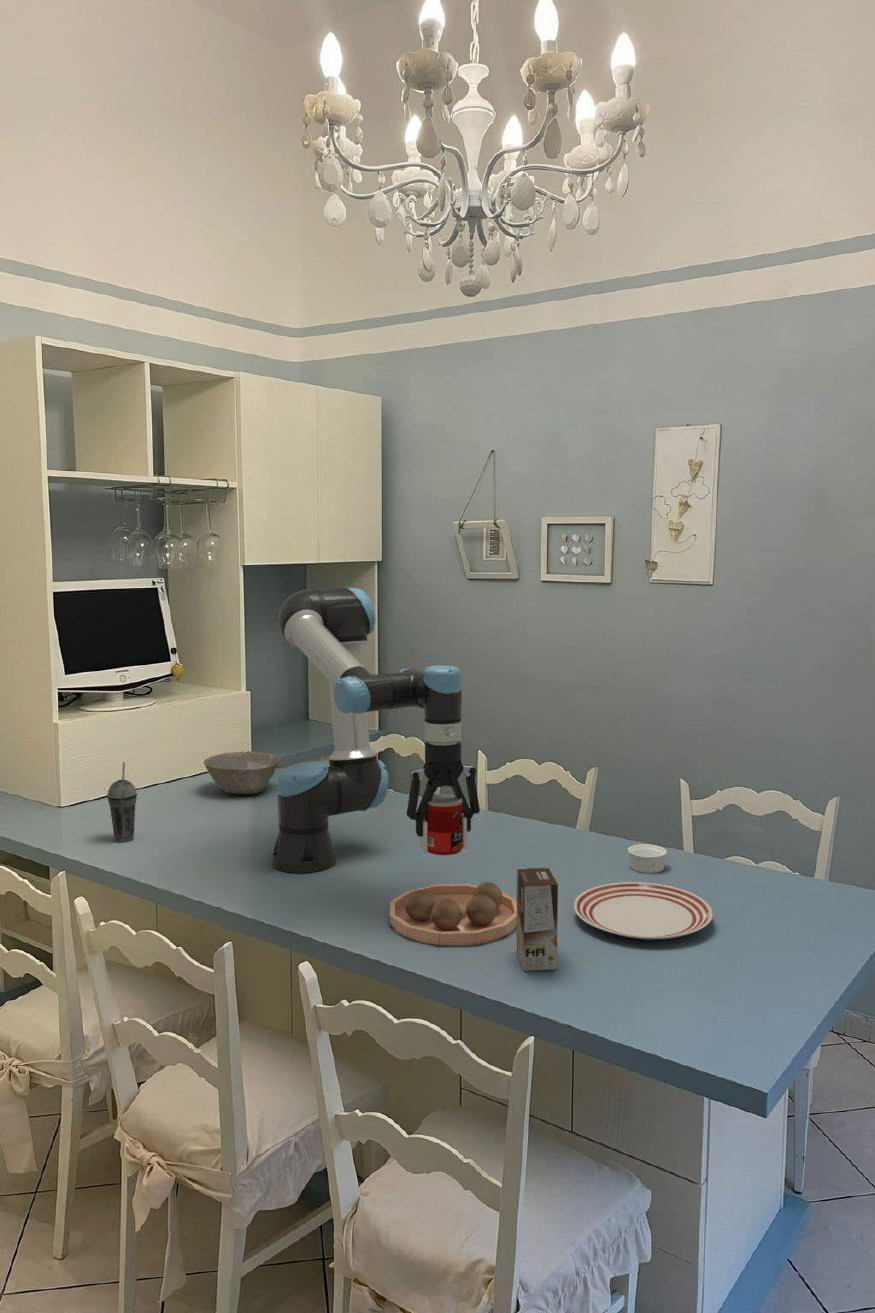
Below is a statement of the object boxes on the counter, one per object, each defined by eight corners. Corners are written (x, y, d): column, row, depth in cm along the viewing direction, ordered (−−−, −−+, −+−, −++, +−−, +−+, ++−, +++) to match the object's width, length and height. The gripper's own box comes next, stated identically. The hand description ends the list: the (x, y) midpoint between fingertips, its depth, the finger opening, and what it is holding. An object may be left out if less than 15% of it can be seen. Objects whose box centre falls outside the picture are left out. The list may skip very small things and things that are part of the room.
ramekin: (666, 875, 227) (667, 857, 227) (627, 873, 229) (627, 855, 228) (665, 862, 236) (666, 845, 235) (627, 860, 237) (628, 843, 237)
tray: (365, 930, 197) (365, 918, 197) (428, 887, 220) (428, 877, 219) (484, 956, 185) (484, 943, 185) (538, 908, 208) (538, 897, 207)
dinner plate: (686, 962, 183) (687, 945, 182) (551, 930, 197) (551, 914, 197) (729, 913, 206) (729, 897, 205) (605, 887, 220) (605, 873, 220)
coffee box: (558, 970, 179) (559, 884, 177) (523, 972, 179) (523, 885, 176) (548, 948, 188) (549, 867, 186) (514, 950, 188) (515, 868, 185)
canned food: (459, 857, 203) (459, 804, 201) (420, 854, 204) (420, 802, 203) (465, 845, 210) (465, 794, 209) (428, 843, 212) (428, 792, 210)
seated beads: (394, 925, 197) (394, 896, 196) (437, 895, 213) (437, 868, 212) (477, 943, 189) (477, 913, 188) (515, 910, 205) (515, 882, 204)
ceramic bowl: (245, 806, 283) (244, 772, 282) (188, 795, 296) (187, 762, 294) (296, 789, 302) (296, 757, 300) (241, 779, 314) (240, 748, 313)
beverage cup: (103, 842, 252) (99, 765, 249) (122, 834, 259) (118, 758, 256) (126, 845, 249) (122, 767, 247) (145, 837, 256) (141, 761, 253)
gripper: (399, 748, 198) (400, 859, 201) (496, 741, 204) (496, 849, 207) (389, 741, 205) (391, 848, 208) (484, 734, 211) (484, 838, 214)
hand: (443, 848), depth 207 cm, fingers closed on canned food, 8 cm apart
